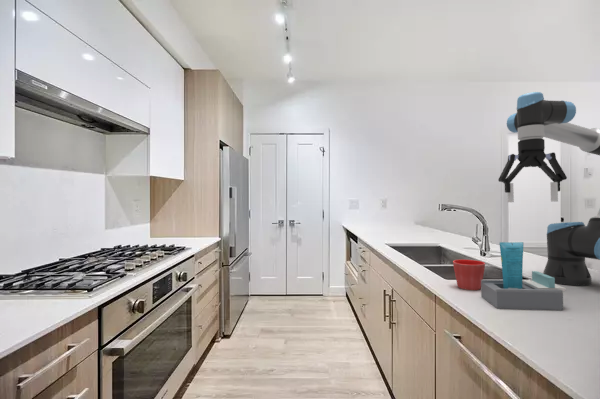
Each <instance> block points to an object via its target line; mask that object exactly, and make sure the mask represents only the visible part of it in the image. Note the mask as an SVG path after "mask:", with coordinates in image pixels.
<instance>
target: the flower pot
mask: <svg viewBox="0 0 600 399" xmlns="http://www.w3.org/2000/svg"><path fill="white" fill-rule="evenodd" d="M452 263H453V264H452V265H453V270H454V275H455V276H454V277H455V280H456V284H457V288H459V289H461V290H464V291H465V290H466V291H479V290H481V280H484V274H485V268H486V263H485V262H484V261H482V260H481V261H480V260H474V259H454V260H453V261H452Z"/></svg>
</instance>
